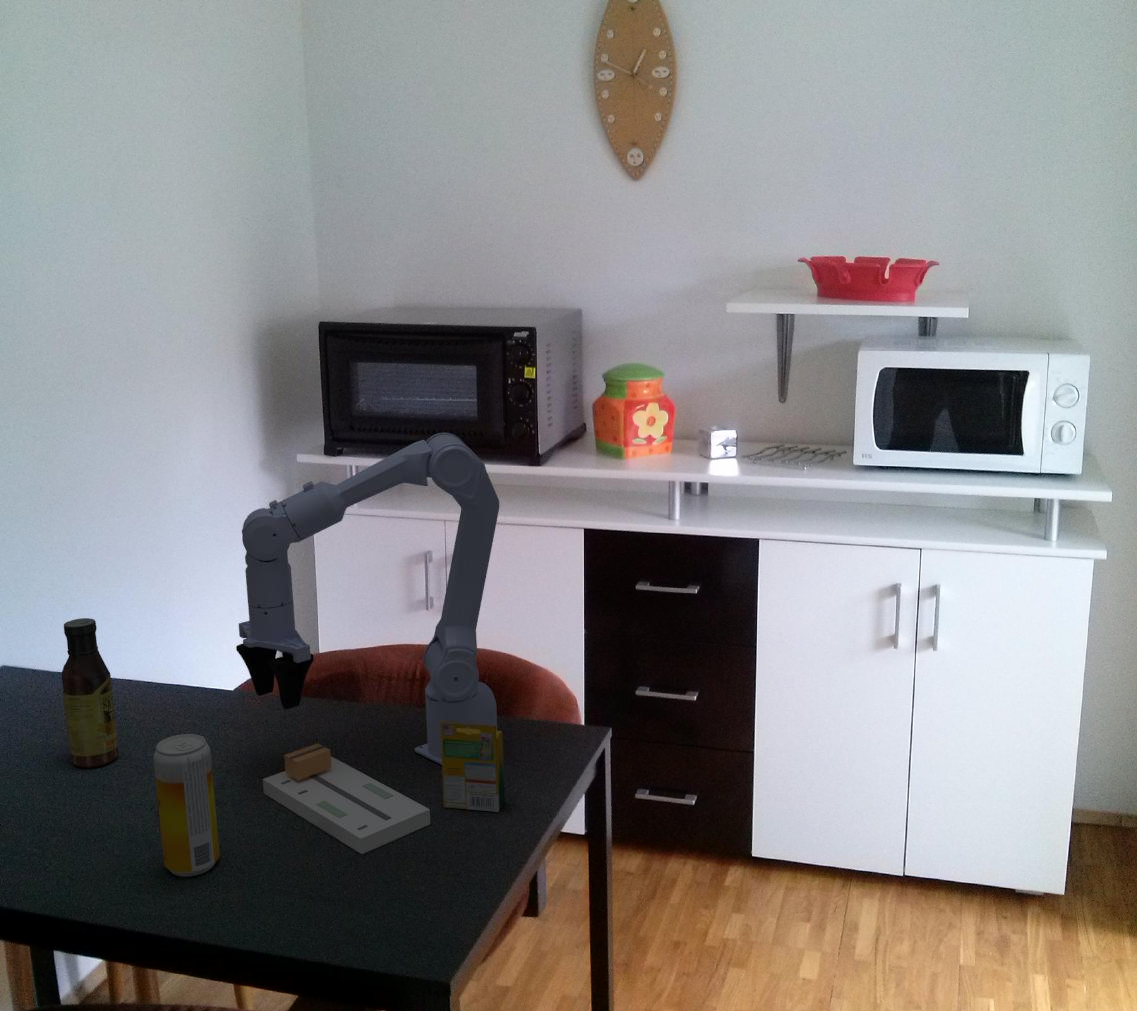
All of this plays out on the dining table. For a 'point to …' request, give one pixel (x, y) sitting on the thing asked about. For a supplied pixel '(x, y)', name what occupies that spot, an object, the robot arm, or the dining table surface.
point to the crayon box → (472, 766)
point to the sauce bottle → (88, 698)
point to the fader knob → (307, 761)
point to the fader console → (349, 806)
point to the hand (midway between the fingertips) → (278, 700)
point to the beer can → (186, 804)
